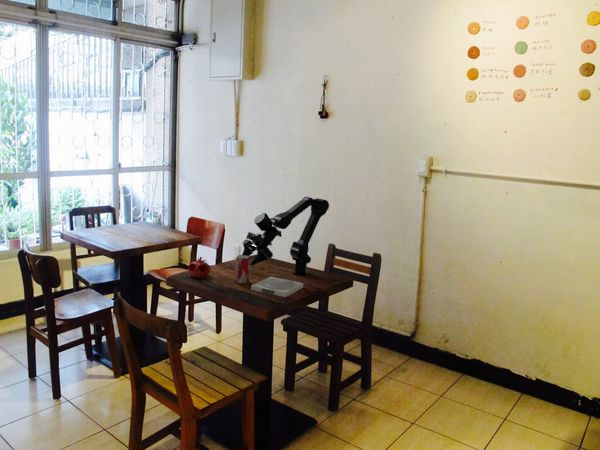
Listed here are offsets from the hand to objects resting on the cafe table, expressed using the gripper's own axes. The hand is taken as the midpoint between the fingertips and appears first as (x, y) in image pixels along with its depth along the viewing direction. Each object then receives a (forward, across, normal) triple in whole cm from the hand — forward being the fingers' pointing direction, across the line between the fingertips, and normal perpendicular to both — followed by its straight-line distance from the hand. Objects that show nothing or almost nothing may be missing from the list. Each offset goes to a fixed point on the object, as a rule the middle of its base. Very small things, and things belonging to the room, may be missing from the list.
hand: (245, 262), depth 239 cm
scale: (+1, +16, +12) cm, 19 cm away
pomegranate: (+17, -17, -4) cm, 24 cm away
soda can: (+8, 0, +5) cm, 9 cm away
